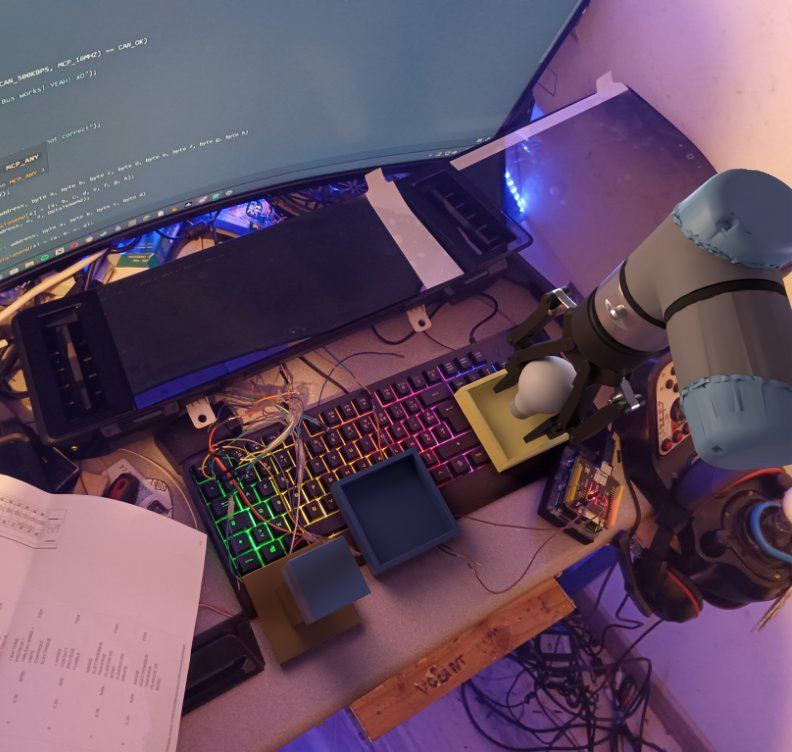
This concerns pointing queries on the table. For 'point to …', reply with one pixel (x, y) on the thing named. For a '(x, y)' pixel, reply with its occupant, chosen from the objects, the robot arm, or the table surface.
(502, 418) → the pale tray
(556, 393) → the lightbulb
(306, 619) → the blue block
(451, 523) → the navy tray
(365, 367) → the table surface
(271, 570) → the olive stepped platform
